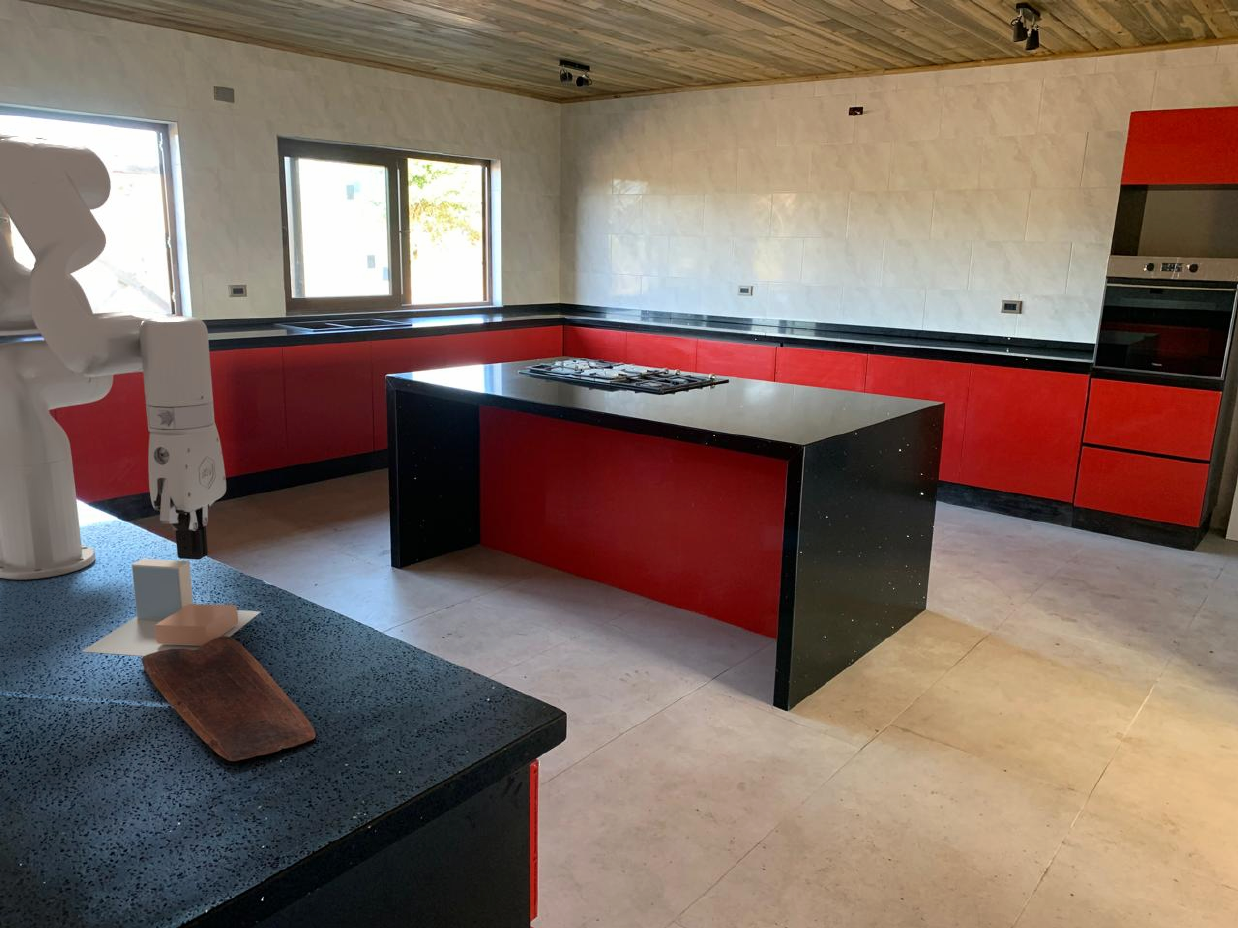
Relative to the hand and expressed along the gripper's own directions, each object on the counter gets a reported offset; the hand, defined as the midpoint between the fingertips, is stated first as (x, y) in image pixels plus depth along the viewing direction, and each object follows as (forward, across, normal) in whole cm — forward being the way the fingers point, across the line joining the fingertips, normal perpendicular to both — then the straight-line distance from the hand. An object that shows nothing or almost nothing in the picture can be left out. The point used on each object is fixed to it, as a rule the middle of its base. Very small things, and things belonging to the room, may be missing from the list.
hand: (193, 556), depth 117 cm
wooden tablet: (+6, -25, -17) cm, 31 cm away
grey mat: (+6, -10, -3) cm, 12 cm away
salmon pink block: (+4, -8, -7) cm, 11 cm away
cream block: (+6, -7, 0) cm, 9 cm away
